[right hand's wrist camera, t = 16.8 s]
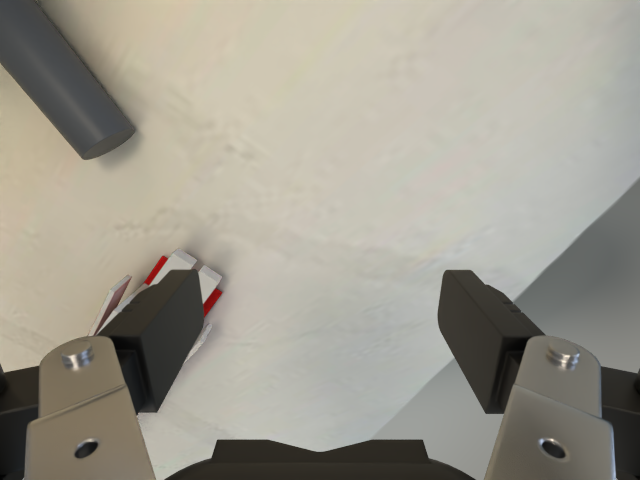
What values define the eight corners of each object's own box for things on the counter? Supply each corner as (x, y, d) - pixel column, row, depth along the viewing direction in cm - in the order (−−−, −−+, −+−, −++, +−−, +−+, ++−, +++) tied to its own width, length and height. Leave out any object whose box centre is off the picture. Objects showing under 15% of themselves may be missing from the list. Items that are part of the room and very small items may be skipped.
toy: (231, 312, 37) (89, 496, 41) (247, 271, 50) (137, 415, 54) (131, 248, 35) (-10, 452, 39) (174, 222, 47) (65, 377, 52)
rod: (144, 127, 40) (113, 130, 34) (105, 156, 41) (70, 163, 35) (-45, -120, 32) (-126, -170, 26) (-86, -75, 33) (-172, -114, 27)
